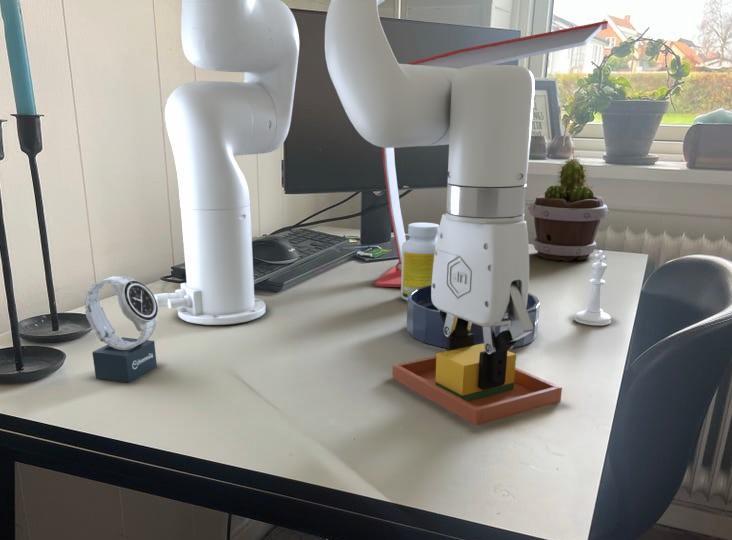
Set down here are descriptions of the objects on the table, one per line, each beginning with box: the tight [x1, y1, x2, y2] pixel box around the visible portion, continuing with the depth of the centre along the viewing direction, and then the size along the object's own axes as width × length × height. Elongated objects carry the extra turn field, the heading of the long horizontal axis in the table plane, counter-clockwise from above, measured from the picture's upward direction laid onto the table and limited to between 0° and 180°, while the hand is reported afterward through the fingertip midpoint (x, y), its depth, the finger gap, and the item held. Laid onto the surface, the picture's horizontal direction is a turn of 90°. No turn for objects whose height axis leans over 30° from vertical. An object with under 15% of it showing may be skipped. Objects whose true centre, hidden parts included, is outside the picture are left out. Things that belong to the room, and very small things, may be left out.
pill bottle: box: [400, 222, 440, 302], centre depth 109 cm, size 6×6×12 cm
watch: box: [84, 275, 159, 384], centre depth 79 cm, size 6×8×11 cm
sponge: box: [435, 343, 517, 401], centre depth 74 cm, size 7×4×4 cm, turn 121°
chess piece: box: [574, 250, 612, 327], centre depth 99 cm, size 5×5×10 cm
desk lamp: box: [374, 20, 609, 288], centre depth 116 cm, size 18×38×40 cm, turn 72°
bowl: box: [406, 285, 541, 349], centre depth 94 cm, size 17×17×5 cm
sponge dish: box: [391, 355, 563, 426], centre depth 75 cm, size 11×14×2 cm
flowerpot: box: [527, 153, 610, 262], centre depth 139 cm, size 14×15×20 cm
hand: (474, 376), depth 75 cm, fingers closed on sponge, 4 cm apart
